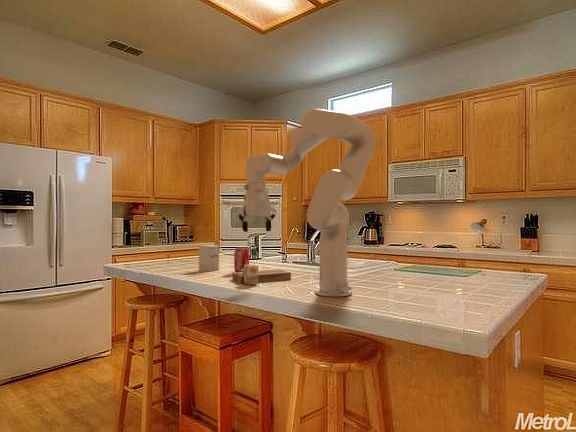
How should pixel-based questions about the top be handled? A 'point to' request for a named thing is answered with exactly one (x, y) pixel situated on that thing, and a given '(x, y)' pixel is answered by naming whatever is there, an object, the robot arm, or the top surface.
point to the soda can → (241, 259)
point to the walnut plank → (264, 276)
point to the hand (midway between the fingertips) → (257, 231)
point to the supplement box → (208, 258)
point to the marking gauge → (250, 274)
